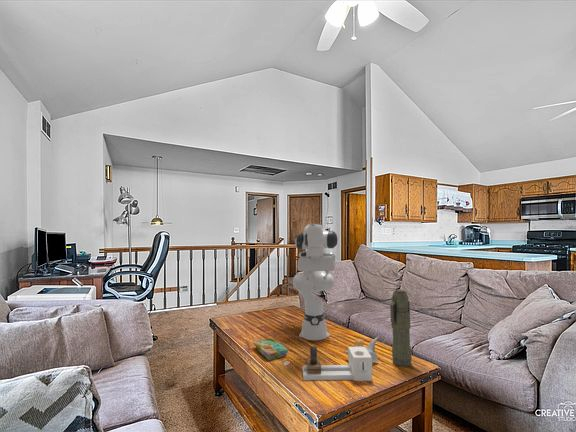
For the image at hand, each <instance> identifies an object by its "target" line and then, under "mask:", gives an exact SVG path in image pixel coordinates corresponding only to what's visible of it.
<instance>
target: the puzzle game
mask: <svg viewBox="0 0 576 432" xmlns="http://www.w3.org/2000/svg"><path fill="white" fill-rule="evenodd" d="M252 344H253V346H254V347H255V348H256V350H257V351H258V352H259V353H260V354H261V355H262V356H263V357H265V358H266V359H267V360H268V361H272V360H276V359H279V358H285V357H286V355H287V354H288V353H289V349H288V348H286V347H285V346H284V345H282V344H281V343H279V342H278V341H277V340H275V339H274V338H273V337H270V338H265V339H260V340H255V341H253V342H252Z"/></svg>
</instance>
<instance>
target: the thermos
mask: <svg viewBox="0 0 576 432" xmlns="http://www.w3.org/2000/svg"><path fill="white" fill-rule="evenodd" d="M410 305H411V304H410V300H409V296H408V293H407V291H405V290H401V289H400V290H399V289H397V290H393V292H392V295H391V302H390V323H391V327H392V348H391V354H392V355H391V357H392V363H393V365H395V366H398V367H402V368H408V367H411V366H412V349H411V341H410V340H411V335H410V329H411V309H410V307H411V306H410Z"/></svg>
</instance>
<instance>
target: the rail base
mask: <svg viewBox="0 0 576 432" xmlns="http://www.w3.org/2000/svg"><path fill="white" fill-rule="evenodd" d="M366 348H367V347H366V346H363V347H354V346H348V347H347V349H348V355H347V357H349V358H348V364H327V365H326V364H325V365H324V364H321V373H308V369H307V364H306V365H305V364H304V365H302V377H303V378H302V379H303V381H343V380H344V381H351V380H352V381H354V382H364V381H366V382H368V381H369V382H372V381H373V365H372V357H371V355H370V354H369V352H368V351H367V349H366Z"/></svg>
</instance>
